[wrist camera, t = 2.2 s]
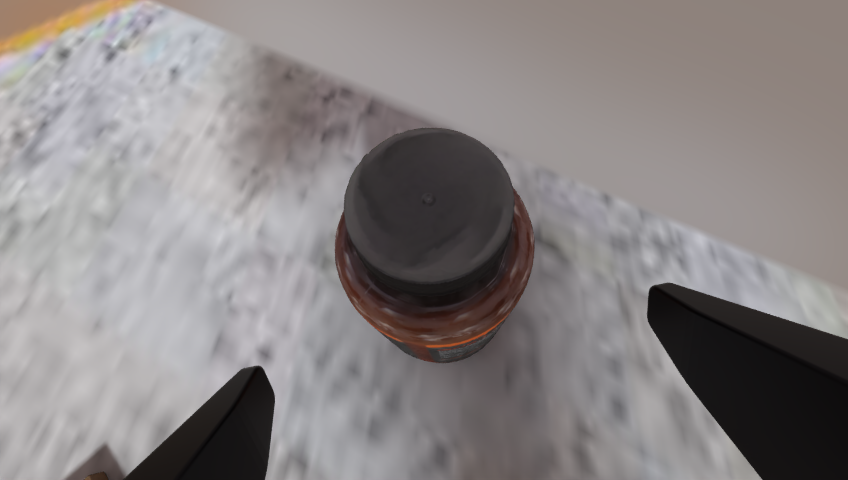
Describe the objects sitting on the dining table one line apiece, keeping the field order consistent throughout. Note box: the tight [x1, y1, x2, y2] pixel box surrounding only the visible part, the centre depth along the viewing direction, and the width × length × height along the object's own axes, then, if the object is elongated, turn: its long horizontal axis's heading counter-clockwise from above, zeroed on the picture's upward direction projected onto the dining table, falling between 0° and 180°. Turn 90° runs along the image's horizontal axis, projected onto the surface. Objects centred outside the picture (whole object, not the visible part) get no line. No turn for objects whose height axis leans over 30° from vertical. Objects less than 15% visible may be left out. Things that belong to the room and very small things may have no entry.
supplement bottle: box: [335, 128, 534, 363], centre depth 15 cm, size 6×6×11 cm
